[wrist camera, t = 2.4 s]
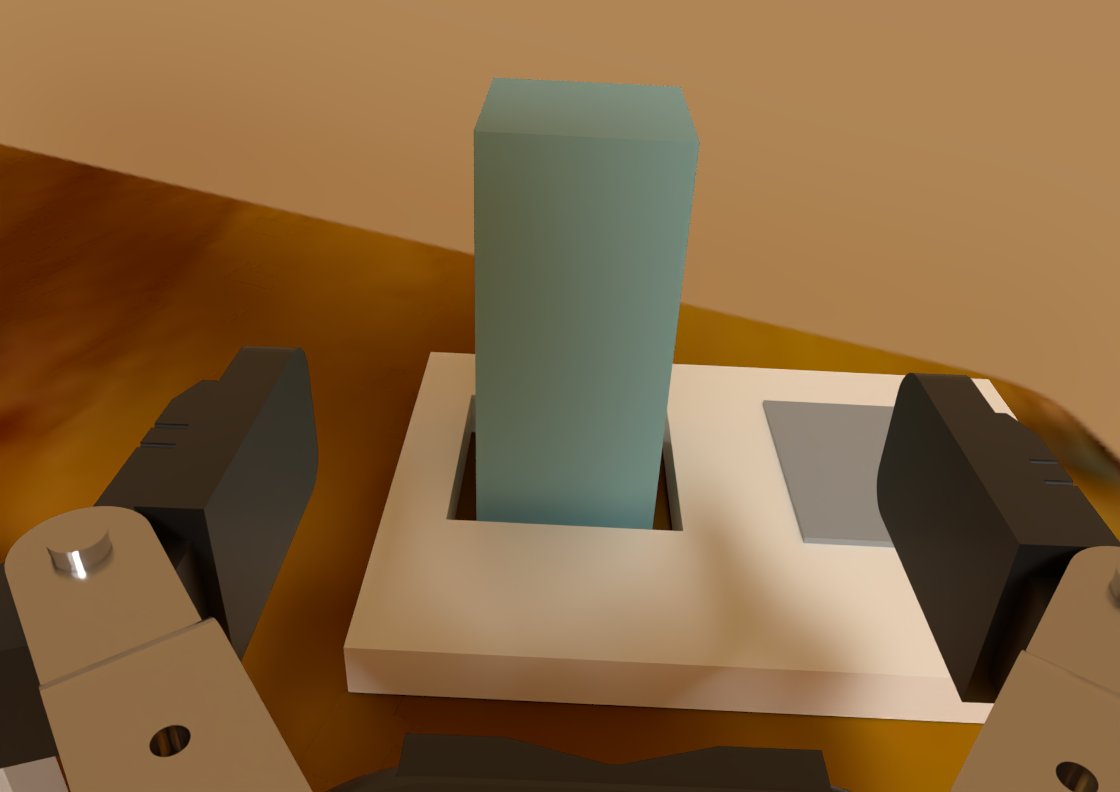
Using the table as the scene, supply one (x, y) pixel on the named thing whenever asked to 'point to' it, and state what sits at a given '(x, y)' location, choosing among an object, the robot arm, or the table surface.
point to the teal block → (577, 296)
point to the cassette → (33, 777)
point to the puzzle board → (665, 566)
